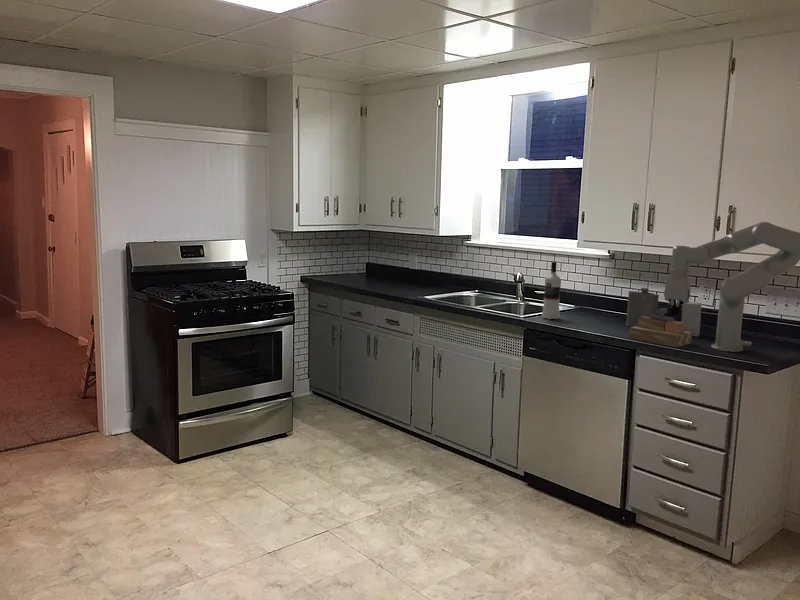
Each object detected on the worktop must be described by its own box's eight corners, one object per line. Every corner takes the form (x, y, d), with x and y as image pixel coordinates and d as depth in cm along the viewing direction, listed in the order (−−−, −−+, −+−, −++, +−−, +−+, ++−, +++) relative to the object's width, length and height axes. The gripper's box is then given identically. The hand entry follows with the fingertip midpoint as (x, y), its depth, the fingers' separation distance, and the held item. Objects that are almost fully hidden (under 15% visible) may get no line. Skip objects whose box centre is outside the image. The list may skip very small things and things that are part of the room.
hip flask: (624, 325, 345) (627, 286, 342) (629, 324, 348) (632, 285, 345) (653, 330, 333) (656, 290, 330) (658, 330, 335) (661, 289, 332)
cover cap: (671, 330, 308) (672, 320, 308) (684, 332, 304) (685, 322, 303) (664, 331, 304) (665, 322, 304) (677, 334, 300) (678, 324, 299)
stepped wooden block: (643, 334, 323) (645, 314, 321) (691, 343, 306) (693, 322, 304) (628, 338, 313) (630, 317, 312) (676, 347, 297) (678, 325, 295)
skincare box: (699, 334, 326) (702, 302, 324) (698, 337, 321) (701, 304, 318) (680, 332, 330) (683, 300, 328) (679, 335, 324) (682, 302, 322)
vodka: (563, 318, 359) (566, 262, 355) (551, 320, 354) (554, 262, 349) (549, 316, 367) (553, 260, 362) (538, 317, 361) (541, 261, 357)
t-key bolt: (654, 316, 314) (655, 306, 313) (675, 320, 307) (676, 309, 306) (647, 318, 310) (648, 307, 309) (668, 321, 303) (669, 310, 302)
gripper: (659, 272, 303) (655, 313, 306) (692, 276, 292) (687, 318, 295) (667, 271, 308) (663, 311, 311) (700, 275, 297) (695, 316, 300)
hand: (675, 314), depth 303 cm, fingers closed
